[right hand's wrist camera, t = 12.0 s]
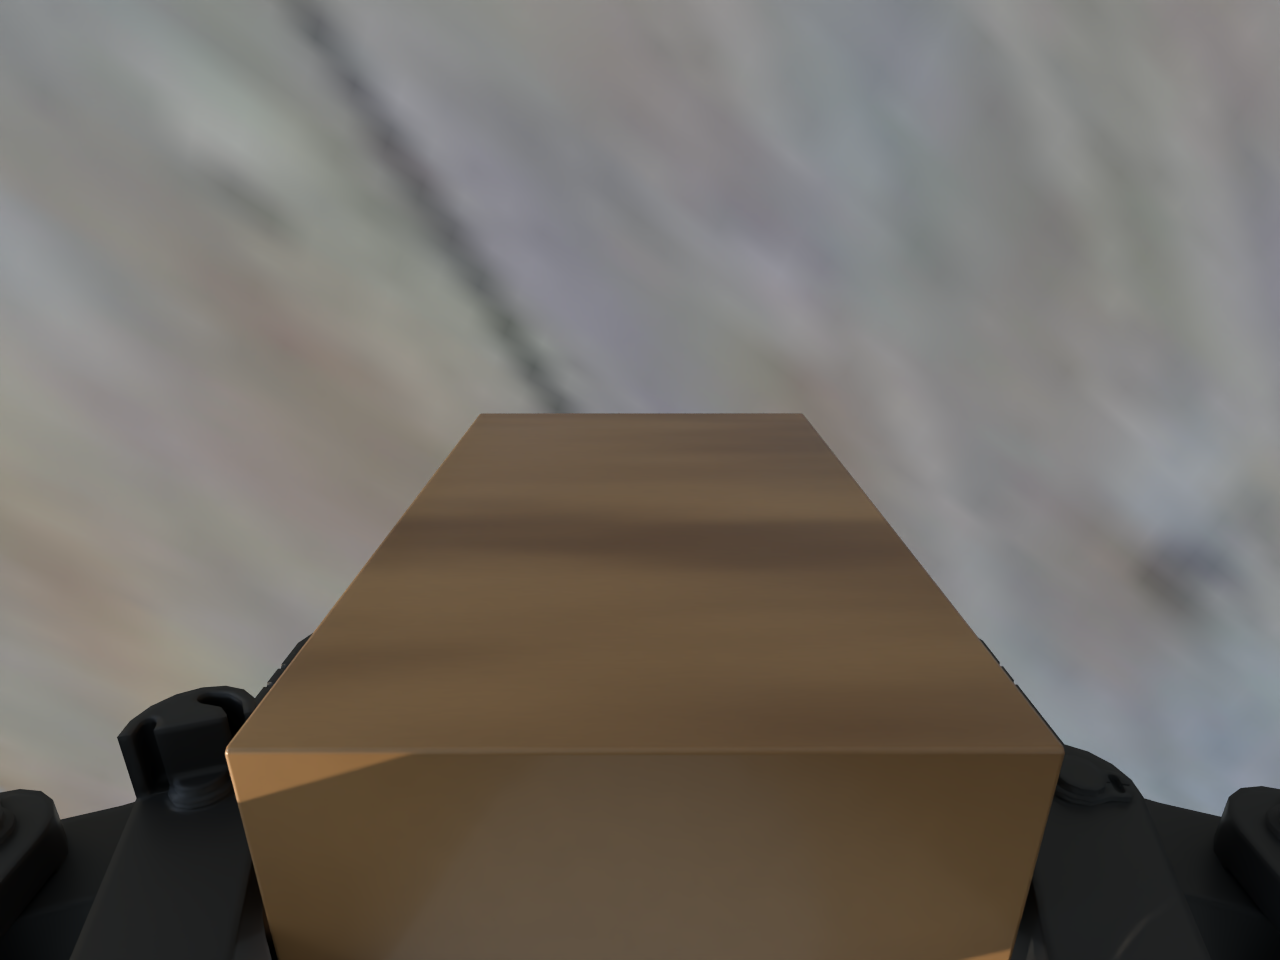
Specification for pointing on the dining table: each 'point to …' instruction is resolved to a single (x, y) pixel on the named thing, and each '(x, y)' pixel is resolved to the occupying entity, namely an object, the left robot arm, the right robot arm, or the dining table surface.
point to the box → (644, 719)
